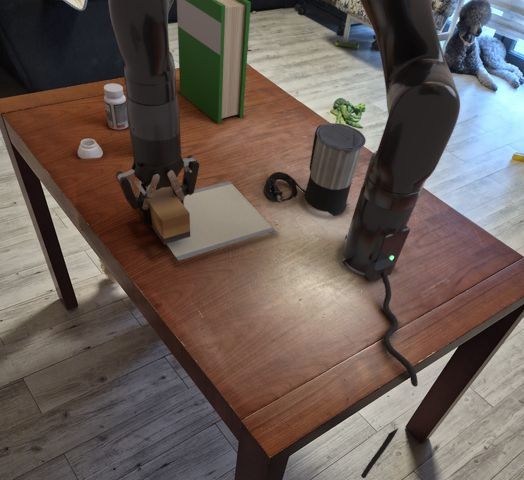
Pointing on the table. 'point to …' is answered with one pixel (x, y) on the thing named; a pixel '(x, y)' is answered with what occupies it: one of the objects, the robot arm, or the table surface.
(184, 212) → the eraser
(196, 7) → the hardback book
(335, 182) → the milk frother
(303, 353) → the table surface
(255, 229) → the board
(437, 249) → the table surface
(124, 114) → the pill bottle
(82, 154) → the white jar
